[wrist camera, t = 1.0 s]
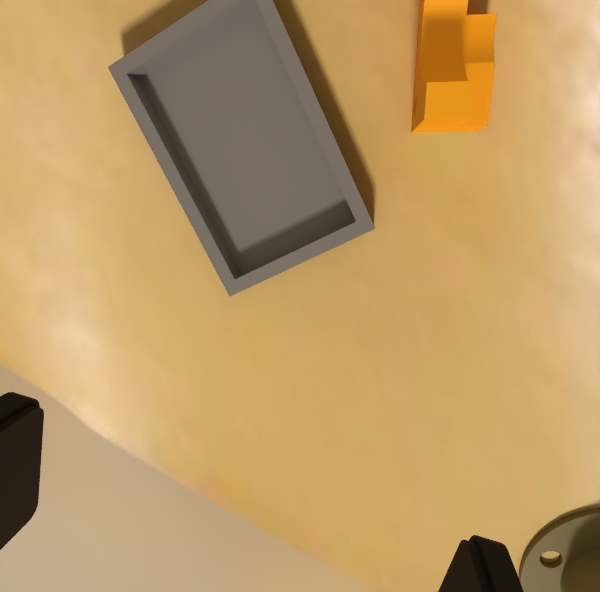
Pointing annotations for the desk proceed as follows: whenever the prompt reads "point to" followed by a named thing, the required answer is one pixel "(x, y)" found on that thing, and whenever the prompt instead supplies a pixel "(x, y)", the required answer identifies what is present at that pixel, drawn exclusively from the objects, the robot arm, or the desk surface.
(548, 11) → the desk surface
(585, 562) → the flange
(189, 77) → the parts tray
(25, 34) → the desk surface
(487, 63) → the orange blocky piece
